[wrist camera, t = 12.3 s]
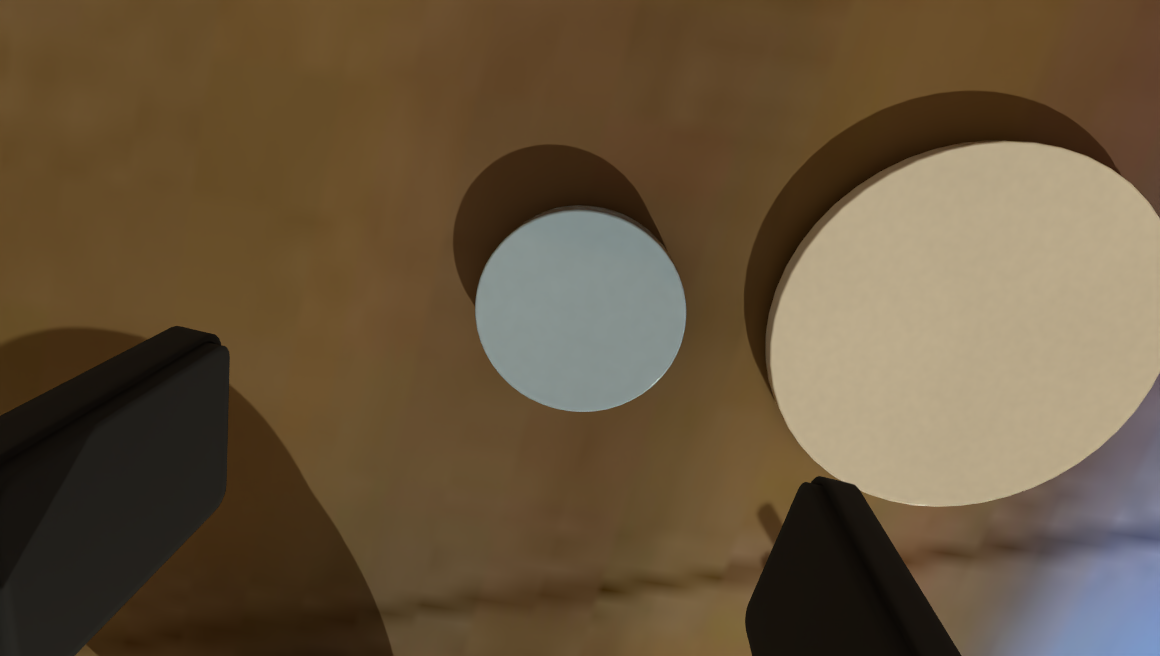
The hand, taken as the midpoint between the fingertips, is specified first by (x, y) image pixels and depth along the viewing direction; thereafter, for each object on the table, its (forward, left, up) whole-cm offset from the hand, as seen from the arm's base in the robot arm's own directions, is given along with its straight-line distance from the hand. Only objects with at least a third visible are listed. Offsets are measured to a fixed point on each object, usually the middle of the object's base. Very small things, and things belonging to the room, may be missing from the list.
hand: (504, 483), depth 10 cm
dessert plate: (-2, +14, -13) cm, 19 cm away
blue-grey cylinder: (+1, +1, -13) cm, 13 cm away
